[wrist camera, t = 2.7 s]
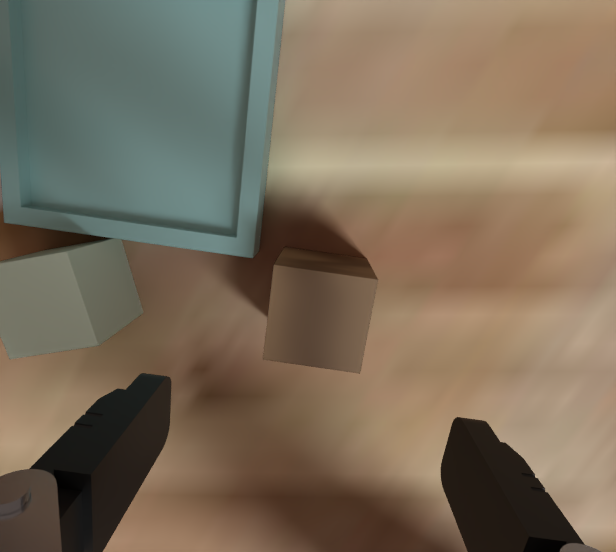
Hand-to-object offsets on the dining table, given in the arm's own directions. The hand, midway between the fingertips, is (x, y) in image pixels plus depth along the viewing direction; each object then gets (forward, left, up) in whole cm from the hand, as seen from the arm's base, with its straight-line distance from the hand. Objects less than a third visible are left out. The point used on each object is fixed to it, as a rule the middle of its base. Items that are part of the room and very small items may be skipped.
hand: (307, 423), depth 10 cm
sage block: (+14, +2, -13) cm, 19 cm away
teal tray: (+11, -9, -13) cm, 19 cm away
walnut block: (0, 0, -13) cm, 13 cm away
